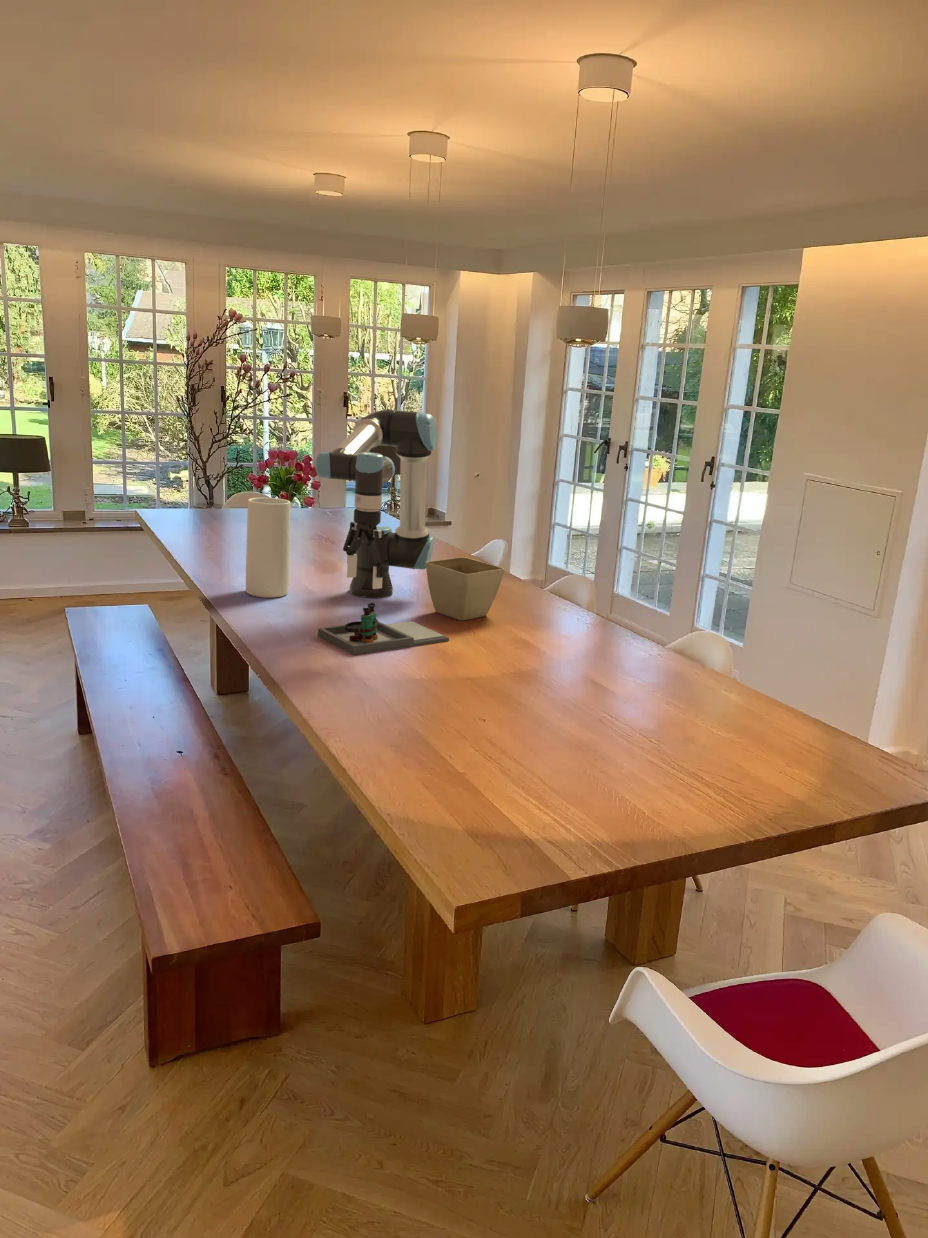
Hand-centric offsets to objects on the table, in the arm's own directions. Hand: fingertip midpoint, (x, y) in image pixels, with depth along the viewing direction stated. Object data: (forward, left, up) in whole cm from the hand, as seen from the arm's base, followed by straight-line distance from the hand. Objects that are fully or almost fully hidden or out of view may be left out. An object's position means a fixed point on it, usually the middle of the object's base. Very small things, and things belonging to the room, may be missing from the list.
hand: (364, 582), depth 259 cm
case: (-7, +1, -17) cm, 19 cm away
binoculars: (0, 0, -17) cm, 17 cm away
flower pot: (-47, -12, -18) cm, 51 cm away
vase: (0, -59, -18) cm, 61 cm away
